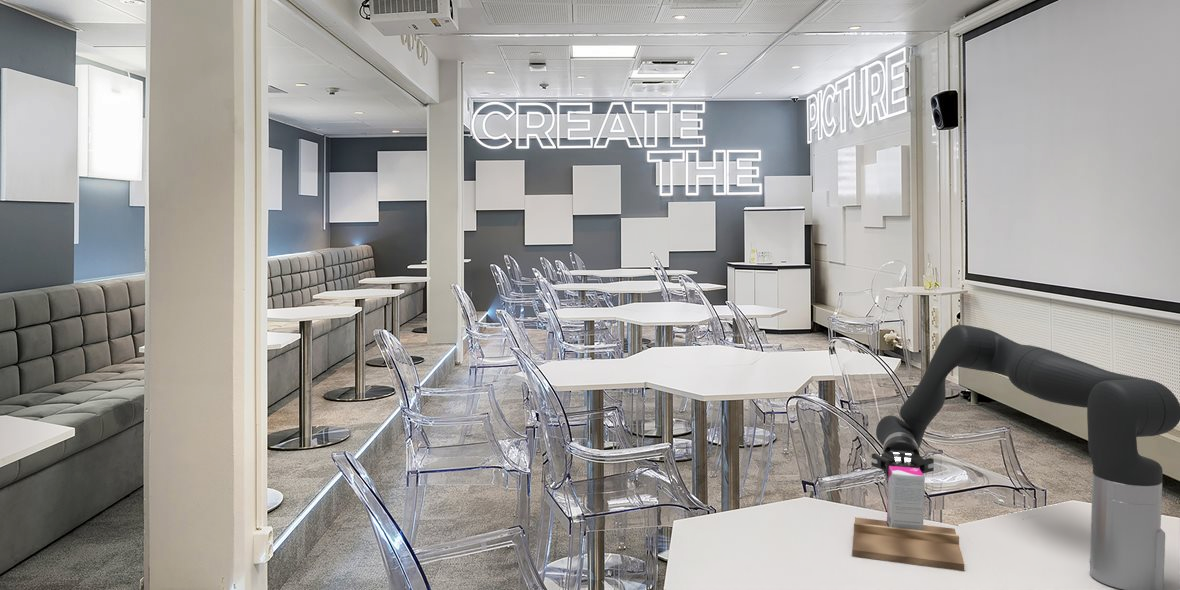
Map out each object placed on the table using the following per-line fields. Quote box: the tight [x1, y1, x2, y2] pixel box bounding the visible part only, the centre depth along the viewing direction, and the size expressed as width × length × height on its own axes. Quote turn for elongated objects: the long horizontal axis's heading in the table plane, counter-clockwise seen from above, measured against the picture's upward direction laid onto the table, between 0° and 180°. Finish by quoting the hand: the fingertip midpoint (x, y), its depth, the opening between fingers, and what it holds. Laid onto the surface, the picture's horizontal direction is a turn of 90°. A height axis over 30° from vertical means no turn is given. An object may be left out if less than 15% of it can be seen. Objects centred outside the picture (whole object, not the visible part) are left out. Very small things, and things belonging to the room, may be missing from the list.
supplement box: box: [886, 466, 926, 531], centre depth 141 cm, size 6×6×12 cm
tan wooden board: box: [851, 517, 965, 572], centre depth 137 cm, size 18×17×3 cm
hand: (903, 473), depth 150 cm, fingers closed
